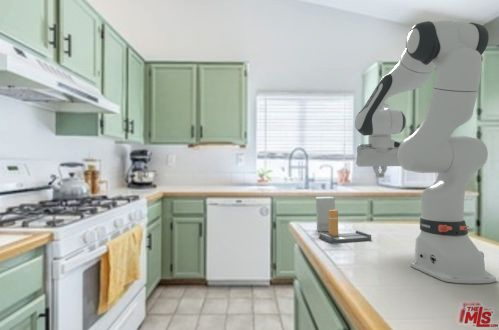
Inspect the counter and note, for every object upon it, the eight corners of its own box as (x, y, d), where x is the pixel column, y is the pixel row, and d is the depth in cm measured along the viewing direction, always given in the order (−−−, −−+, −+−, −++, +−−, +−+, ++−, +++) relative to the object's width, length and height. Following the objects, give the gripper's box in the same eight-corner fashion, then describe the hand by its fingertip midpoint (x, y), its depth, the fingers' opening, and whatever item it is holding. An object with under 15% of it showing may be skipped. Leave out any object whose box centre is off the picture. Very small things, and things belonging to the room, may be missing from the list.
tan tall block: (335, 235, 145) (334, 209, 145) (339, 236, 141) (339, 210, 141) (327, 235, 144) (327, 209, 144) (331, 237, 140) (331, 211, 140)
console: (357, 235, 151) (357, 230, 151) (371, 240, 141) (371, 234, 141) (319, 238, 146) (319, 232, 146) (330, 243, 137) (330, 237, 137)
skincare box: (333, 229, 166) (333, 196, 166) (335, 231, 159) (335, 197, 159) (315, 229, 167) (315, 196, 166) (317, 231, 160) (316, 197, 160)
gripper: (361, 143, 139) (361, 178, 139) (405, 143, 144) (406, 177, 144) (353, 144, 145) (353, 177, 145) (395, 144, 150) (396, 176, 150)
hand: (380, 177), depth 145 cm, fingers closed
